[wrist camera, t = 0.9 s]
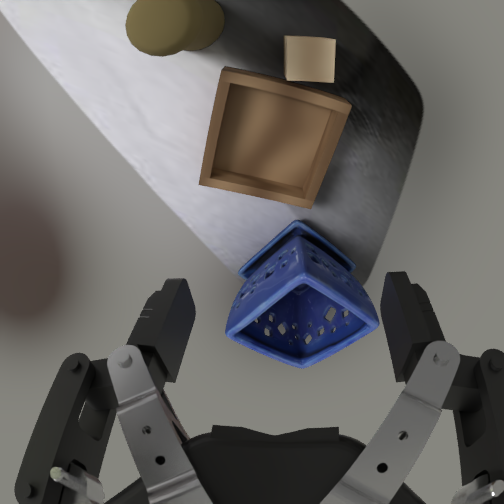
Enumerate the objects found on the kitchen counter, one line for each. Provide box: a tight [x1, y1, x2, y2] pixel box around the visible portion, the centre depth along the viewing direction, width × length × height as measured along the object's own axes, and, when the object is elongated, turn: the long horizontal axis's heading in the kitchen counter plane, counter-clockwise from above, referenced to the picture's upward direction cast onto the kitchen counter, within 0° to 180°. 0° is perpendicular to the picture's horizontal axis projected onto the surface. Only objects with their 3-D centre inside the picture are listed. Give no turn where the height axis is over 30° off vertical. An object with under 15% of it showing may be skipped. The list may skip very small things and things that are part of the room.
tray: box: [199, 66, 352, 209], centre depth 29 cm, size 12×12×3 cm
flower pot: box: [225, 220, 379, 368], centre depth 37 cm, size 13×13×12 cm
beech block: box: [284, 36, 336, 83], centre depth 23 cm, size 4×4×4 cm
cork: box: [125, 0, 225, 57], centre depth 18 cm, size 6×6×11 cm
